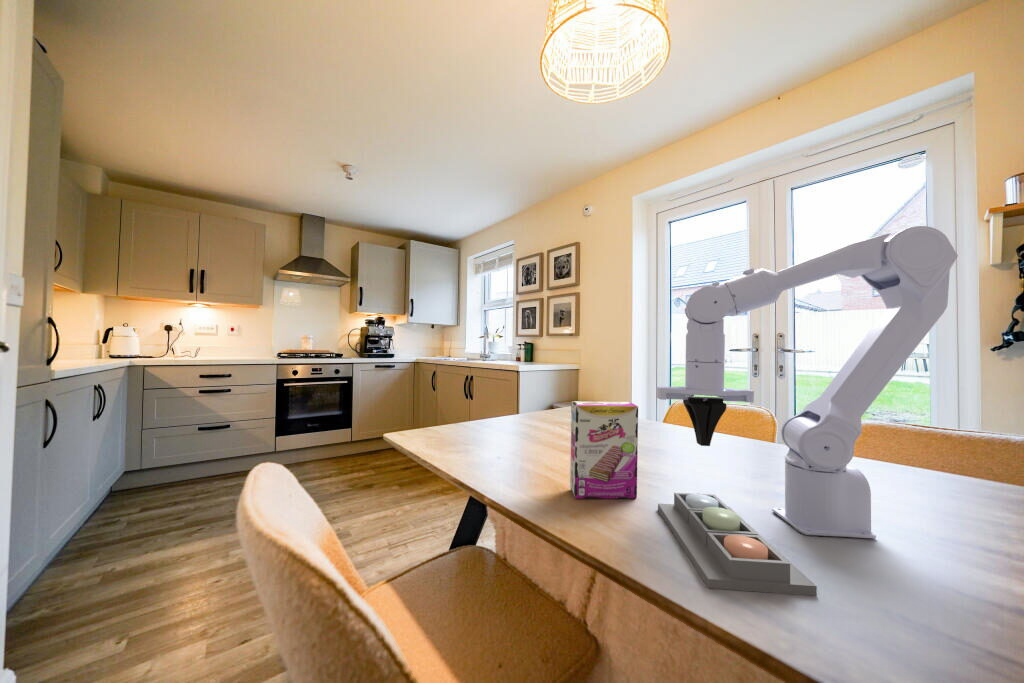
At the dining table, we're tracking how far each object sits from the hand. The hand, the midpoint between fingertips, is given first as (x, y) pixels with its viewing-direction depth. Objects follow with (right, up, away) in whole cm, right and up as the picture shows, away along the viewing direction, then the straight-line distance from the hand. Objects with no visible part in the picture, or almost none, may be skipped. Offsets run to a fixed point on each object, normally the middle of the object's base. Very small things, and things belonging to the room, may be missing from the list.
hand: (703, 444), depth 62 cm
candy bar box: (-15, -11, +5) cm, 19 cm away
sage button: (-3, -8, -11) cm, 14 cm away
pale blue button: (-3, -9, -5) cm, 11 cm away
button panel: (-3, -10, -11) cm, 16 cm away
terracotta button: (-4, -9, -18) cm, 20 cm away
